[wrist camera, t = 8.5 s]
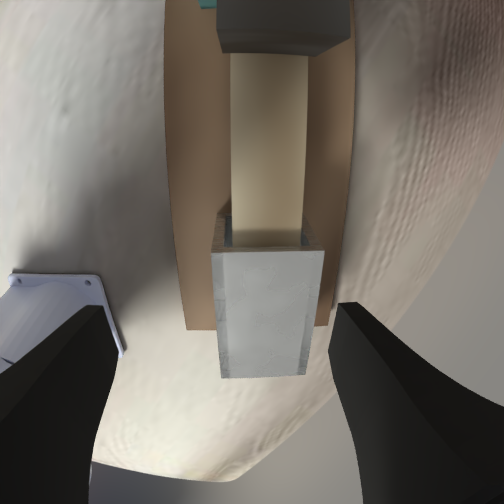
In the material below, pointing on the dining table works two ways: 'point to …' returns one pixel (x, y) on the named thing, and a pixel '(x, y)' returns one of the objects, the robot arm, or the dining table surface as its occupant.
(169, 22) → the base board
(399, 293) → the dining table surface
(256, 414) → the dining table surface
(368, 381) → the robot arm
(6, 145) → the dining table surface
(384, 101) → the dining table surface
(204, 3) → the socket
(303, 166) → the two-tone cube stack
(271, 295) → the sleeve
